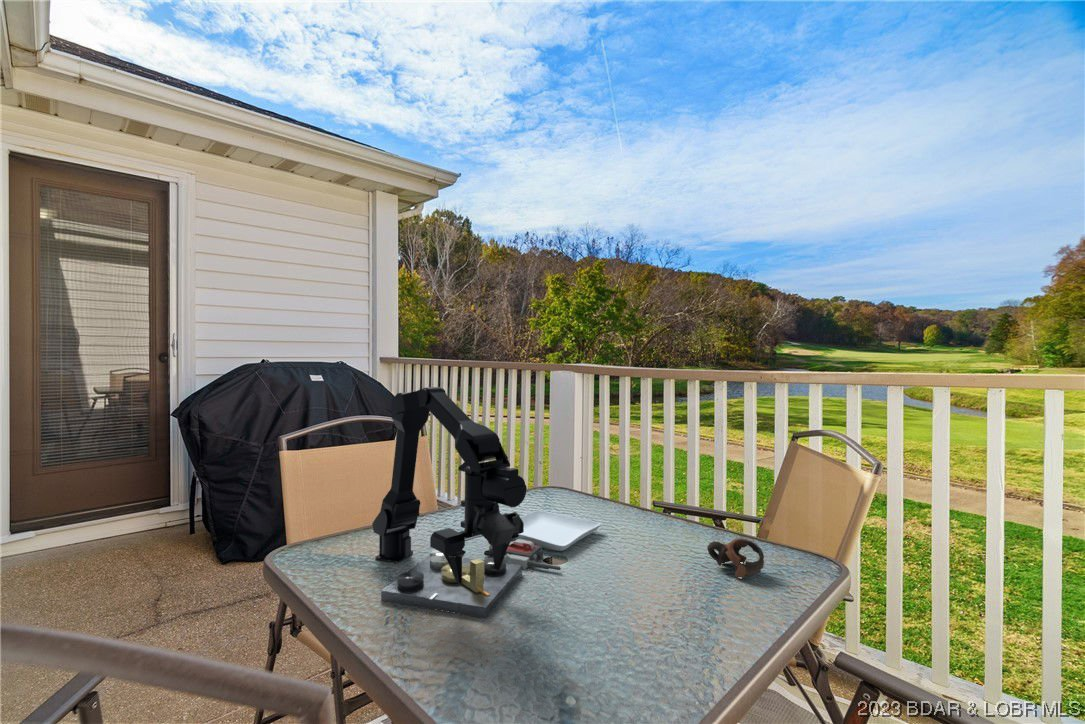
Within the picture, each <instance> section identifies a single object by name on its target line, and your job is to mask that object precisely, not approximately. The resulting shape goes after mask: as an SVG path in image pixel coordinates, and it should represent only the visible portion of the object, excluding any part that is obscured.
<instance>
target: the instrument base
mask: <svg viewBox="0 0 1085 724" xmlns="http://www.w3.org/2000/svg"><path fill="white" fill-rule="evenodd" d="M475 559H476V558H470V557H464V556H463V557H462V563H463V564H467V565H469V566H470V561H472V560H475ZM482 560H483V561H484V584H483V591H480V592H477V593H476V592H474V591H473V590H471V589H470V588H468V587H467V586H465V585H464V584H462V583H460V584H459V583H457V582H456V583H452V582H446V581H444V580H442V579H441V569H442V567H444V566H446V565H448V564H449V563H448V561H447V559H446V558H445V556H444V554H443V553H441V552H440V551H438V550H436V549H434V550H432V551H430V553H429V554H428V556H426V557H425V558H423V559H422V560H421V561H420V562H418V563H416V565H414V566H412V567H411V568H410V569H409V570H407V571H406V572H405V571H404V572H402V573H400V574H398V575H397V576H396V579H395V580H393V581H392V582H391V583H390V584H388V585H387V586H385V587H384V588H382V589H381V591H380V592H381V593H380V600H381V602H387V603H394V604H400V605H405V606H411V607H415V606H417V607H416V608H421V607H423V609H427V608H428V610H433V609H437V610H436V611H439V610H443V611H442V612H445V611H449V612H448V613H451V612H455V613H454V614H456V613H460V614H459V615H462V614H464V615H463V616H468V615H469V616H470V617H474V618H480V619H487V618H488V617H489V615H490V614H491V613H492V611H494V609H495V608H496V607H497V606H498V604H499V603H500V600H501V601H502V600H503V598H504V597H505V596H506V595H505V594H508V592H509V591H510V589H511V588H512V587H513V586H514V585H515V584H516V583H517V581H518V580H519V579H520V577H521V576H522V575H523V568H522V565H516V564H508V563H506V560H504V559H503V562H502V564H501V567H500V570H496V569H495V566H494V560H493V557H492V558H490V557H487V558H485V559H482ZM504 595H505V596H504ZM469 616H468V617H469Z"/></svg>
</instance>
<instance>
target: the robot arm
mask: <svg viewBox="0 0 1085 724" xmlns="http://www.w3.org/2000/svg"><path fill="white" fill-rule="evenodd" d="M390 409H391V419H392V421H393V423H394V425H395V427H396V430H397V432H396V440H395V447H394V448H395V449H394V457H393V458H394V459H393V467H392V474H391V475H392V478H391V487H390V489H389V491H388V492H387V493H386V495H385V496H384V498H383V499H382V501H381V507H380V511H379V513H378V514H377V515H376V517H375V519H373V521H372V523H371V524H372V529H373V533H374V534H377V535H378V536H379V544H378V545H379V546H378V547H379V548H378V549H379V551H378V552H379V553H378V554H377V555H376V556H375V560H378V561H383V562H385V561H386V562H393V563H401V561H403V560H405V559H406V558H408V557H409V556H410V555H412V554H414V551H413V550H412V536H411V535H410V534H411V533H410V530H414V529H416V527H417V521H418V517H419V516H420V507H421V500H420V499H418V498H417V496H416V495H415V492H414V483H415V475H416V465H417V458H418V449H419V439H420V432H421V430H422V429H423V428H424V426H425V425H426V423H427V422H428V421H429V416H430V413H431V414H432V416H434V417H435V419H437V421H438V422H439V423H440V424H441V425H442V426H443V427H444V428H445V430H446V431H447V432H448V433H449V434H450V435H451V436H452V438H453V439H454V449H455V450H456V452H457V453H458V455H459V456H460V458H461V459H462V460H463V463H462V464H460V465H459V466H458V469H457V470H458V471H460V472H462V473H463V472H464V499H462V500H460V507H462V508H464V520H461V521H460V527H461V528H463V529H464V530H461V531H458V530H454V529H452V528H450V527H447V528H444V529H440V530H436V531H433V532H432V534H431V536H430V538H429V539H430V541H429V544H430V548H431V549H434V550H438V551H440V552H441V553H443V554H444V556H445V558H446V559H447V561H448V563H449V566H450V568H451V570H452V573H453V575H454V577H455V580H456V582H457V583H459V584H460V583H461V580H462V557H464V556H465V554H466V553H467V552H466V551H465V550H464V548H465V546H466V543H465V542H467V541H470V540H474V539H478V538H481V537H483V538H484V539H485V540H486V541H487V543H488V544H489V546H490V545H492V549H493V560H494V566H495V569H496V570H500V567H501V564H502V562H503V559H504V556H505V553H506V550H507V548H508V546H509V544H510V542H514V541H515V540H514V539H515V538H518V537H519V535H518V534H520V533H523V532H524V523H523V521H522V519H521V518H520V517H521V516H520V514H519V513H518V512H516V511H514V512H509V513H508V512H507V513H501V511H500V505H503V506H507V507H509V508H517V507H518V506H520V505H521V504H522V503H523V501H524V500H525V498H526V495H527V489H528V488H527V485H526V482H525V480H524V478H523V477H522V476H520V475H519V468H514V467H512V468H511V463H510V461H509V457H508V455H507V454H506V451H505V450H504V447H503V446H502V443H501V439H500V437H499V435H498V434H497V432H495V431H493V430H492V429H491V428H489V427H488V426H485V425H483V424H480V423H477V422H475V421H474V420H472V418H470V417H469V416H468V415H467V414H466V413H465V412H464V411H463V410H462V409H461V408H460V407H459V406H458V405H457V404H456V403H455V402H454V401H453V400H452V399H451V398H450V396H448V394H447V393H446V389H444V388H443V387H441V386H428V387H423V388H420V389H417V390H414V391H411V392H410V391H408V392H407V391H406V392H398V393H396V394H395V396H393V397H392V400H391V402H390ZM499 504H500V505H499Z"/></svg>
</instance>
